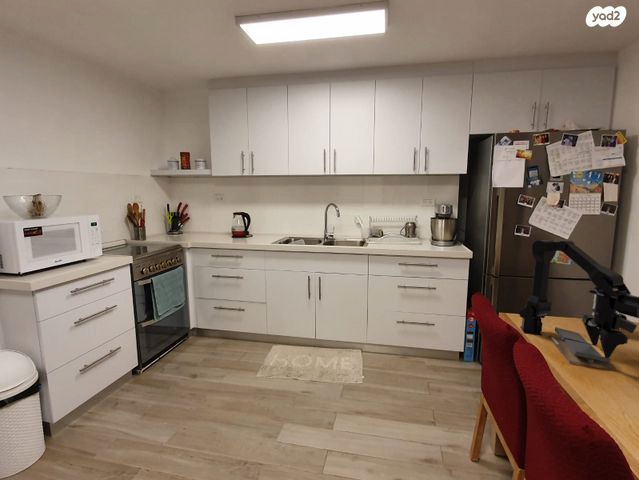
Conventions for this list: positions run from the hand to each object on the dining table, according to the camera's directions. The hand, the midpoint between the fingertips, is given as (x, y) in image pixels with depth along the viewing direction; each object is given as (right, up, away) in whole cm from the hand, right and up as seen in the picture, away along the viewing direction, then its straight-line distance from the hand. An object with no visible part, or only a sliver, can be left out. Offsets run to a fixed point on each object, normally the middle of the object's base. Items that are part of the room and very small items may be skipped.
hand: (600, 351), depth 118 cm
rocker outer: (-4, 0, +1) cm, 4 cm away
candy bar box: (+24, 0, +27) cm, 36 cm away
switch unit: (-2, -3, +7) cm, 8 cm away
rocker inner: (-1, +1, +12) cm, 12 cm away
